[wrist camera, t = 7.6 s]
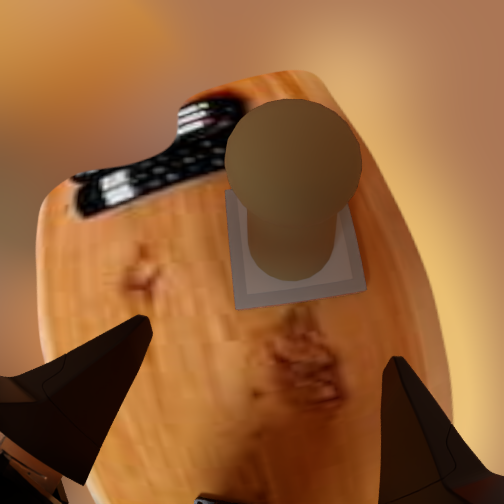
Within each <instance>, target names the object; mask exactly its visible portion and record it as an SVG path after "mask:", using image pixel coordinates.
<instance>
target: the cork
mask: <svg viewBox="0 0 504 504" xmlns="http://www.w3.org/2000/svg"><path fill="white" fill-rule="evenodd" d="M225 168H226V172H227V176H228V181H229V184H230V186H231V188H232V190H233V192H234V193H235V195H236V196H237V198H238V199H239V200H240V202H241V203H242V205H243V206H244V207H246V208H247V233H248V246H249V250H250V254H251V257H252V258H253V260H254V261H255V263H256V265H257V266H258V267H259V268H260V269H261V270H262V271H264V272H265V273H266V274H267V275H269V276H271V277H274V278H276V279H279V280H282V281H299V280H303V279H307V278H310V277H311V276H313V275H315V274H316V273H318V272H319V271H321V270H322V268H323V267H324V266H325V265H326V263H327V262H328V261H329V259H330V256H331V253H332V250H333V247H334V240H335V232H336V222H337V213H338V212H339V211H341V210H342V209H343V208H344V207H345V205H346V204H347V203H348V202H349V200H350V199H351V198H352V196H353V195H354V193H355V191H356V189H357V187H358V183H359V179H360V175H361V171H362V159H361V152H360V146H359V143H358V141H357V139H356V137H355V136H354V134H353V132H352V130H351V129H350V127H349V126H348V124H347V123H346V122H345V121H344V120H343V119H342V118H341V117H340V116H339V115H338V114H337V113H336V112H334V111H332V110H331V109H329V108H327V107H325V106H323V105H321V104H319V103H315V102H311V101H307V100H303V99H281V100H276V101H271V102H267V103H265V104H263V105H261V106H258V107H256V108H254V109H252V110H251V111H250V112H249V113H248V114H246V115H245V116H244V117H243V118H242V119H241V120H240V121H239V122H238V124H237V125H236V127H235V129H234V130H233V132H232V134H231V135H230V137H229V139H228V142H227V148H226V154H225Z"/></svg>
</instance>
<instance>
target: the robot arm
mask: <svg viewBox="0 0 504 504" xmlns="http://www.w3.org/2000/svg"><path fill="white" fill-rule="evenodd" d="M152 336H153V331H152V327H151V324H150V320H149V318H148V317H147V316H144V315H136V316H134V317H132V318H131V319H129V320H127V321H125V322H123V323H121V324H120V325H118V326H116V327H114V328H112V329H110V330H109V331H107V332H105V333H103V334H101V335H99V336H97V337H96V338H94V339H92V340H90V341H88V342H86V343H85V344H83V345H81V346H79V347H77V348H75V349H73V350H72V351H70V352H68V353H67V354H64V355H62V356H60V357H59V358H57V359H55V360H53V361H51V362H49V363H46V364H44V365H42V366H40V367H37V368H35V369H33V370H30V371H28V372H25V373H23V374H21V375H18V376H14V377H3V376H0V504H68V503H69V502H68V499H67V496H66V493H65V490H64V487H63V484H62V481H61V478H62V476H65V477H67V478H69V479H71V480H73V481H74V482H76V483H78V484H80V485H82V486H84V485H85V483H86V480H87V478H88V476H89V473H90V471H91V469H92V467H93V464H94V462H95V460H96V458H97V455H98V453H99V451H100V448H101V446H102V444H103V442H104V440H105V438H106V436H107V434H108V431H109V429H110V427H111V425H112V423H113V421H114V419H115V417H116V415H117V413H118V411H119V409H120V407H121V405H122V403H123V401H124V399H125V397H126V395H127V393H128V391H129V389H130V387H131V385H132V383H133V381H134V379H135V377H136V375H137V373H138V371H139V369H140V367H141V364H142V362H143V359H144V357H145V354H146V352H147V349H148V346H149V344H150V341H151V339H152ZM199 501H200V502H202V503H200V502H199ZM194 504H238V503H231V502H224V501H218V500H213V499H207V498H203V497H197V498H196V499H195V501H194ZM378 504H504V476H501V475H498V474H495V473H492V472H490V471H489V470H488V469H487V468H486V467H485V466H484V465H483V464H482V463H481V461H480V460H479V459H478V457H477V456H476V455H475V454H474V453H473V451H472V450H471V449H470V448H469V446H468V445H467V444H466V443H465V441H464V440H463V439H462V437H461V436H460V435H459V433H458V432H457V430H456V429H455V427H454V426H453V424H451V422H450V420H449V419H448V417H447V416H446V414H445V413H444V411H443V410H442V409H441V407H440V406H439V404H438V403H437V402H436V400H435V399H434V397H433V396H432V395H431V393H430V392H429V391H428V389H427V388H426V386H425V385H424V384H423V382H422V381H421V380H420V378H419V377H418V376H417V374H416V373H415V372H414V370H413V369H412V368H411V366H410V365H409V364H408V363H407V361H406V360H405V359H404V358H403V357H402V356H392V357H391V358H390V360H389V362H388V364H387V365H386V367H385V369H384V371H383V375H382V397H381V469H380V487H379V499H378Z"/></svg>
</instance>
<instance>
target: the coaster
mask: <svg viewBox="0 0 504 504" xmlns="http://www.w3.org/2000/svg"><path fill="white" fill-rule="evenodd" d="M225 199H226V212H227V224H228V235H229V247H230V258H231V268H232V279H233V289H234V299H235V309H236V310H238V311H239V310H247V309H256V308H264V307H272V306H279V305H286V304H293V303H300V302H307V301H314V300H320V299H326V298H332V297H338V296H344V295H350V294H355V293H361V292H364V291H366V290H367V287H366V282H365V276H364V271H363V266H362V261H361V256H360V252H359V247H358V243H357V238H356V234H355V230H354V226H353V221H352V218H351V214H350V210H349V206H348V203H347V204H346V205H345V207H344V208H343V209H342V210H341V211H339V212H338V213H337V222H336V232H335V240H334V247H333V250H332V253H331V256H330V259H329V261H328V262H327V263H326V265H325V266H324V267H323V268H322V270H321V271H319V272H318V273H316V274H315V275H313V276H311V277H310V278H307V279H303V280H299V281H282V280H279V279H276V278H274V277H271V276H269V275H267V274H266V273H265V272H264V271H262V270H261V269H260V268H259V267H258V266H257V265H256V263H255V261H254V260H253V258H252V257H251V254H250V250H249V246H248V233H247V208H246V207H244V206H243V205H242V203H241V202H240V200H239V199H238V198H237V196H236V195H235V193H234V192H233V190H232V189H229V190H225Z"/></svg>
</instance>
